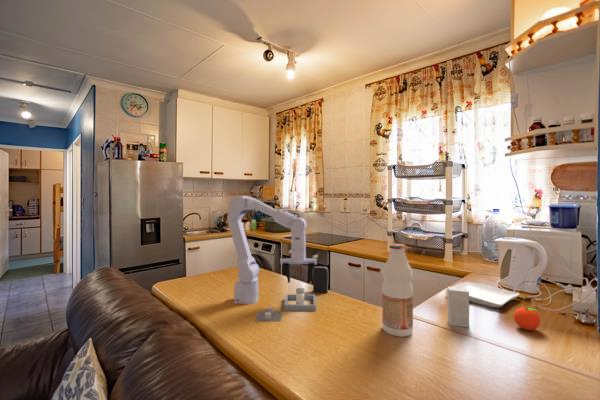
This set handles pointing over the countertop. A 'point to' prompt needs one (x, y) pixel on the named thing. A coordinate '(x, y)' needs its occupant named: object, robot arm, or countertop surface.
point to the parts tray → (300, 307)
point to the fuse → (300, 296)
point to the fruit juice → (397, 293)
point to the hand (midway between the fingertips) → (298, 282)
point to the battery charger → (320, 279)
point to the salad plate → (487, 294)
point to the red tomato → (527, 318)
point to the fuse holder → (269, 315)
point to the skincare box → (458, 306)
